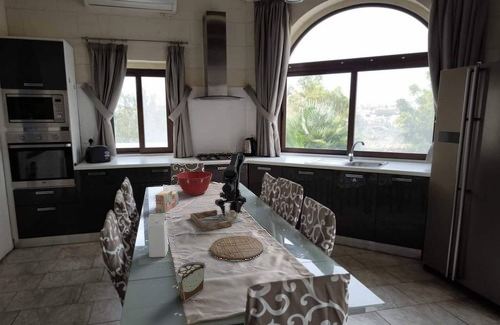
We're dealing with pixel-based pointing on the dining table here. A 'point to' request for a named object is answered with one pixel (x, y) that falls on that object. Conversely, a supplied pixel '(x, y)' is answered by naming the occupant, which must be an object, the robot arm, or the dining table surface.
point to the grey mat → (231, 219)
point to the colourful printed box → (166, 200)
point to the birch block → (231, 215)
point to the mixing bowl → (194, 181)
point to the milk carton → (157, 235)
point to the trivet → (237, 247)
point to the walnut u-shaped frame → (209, 226)
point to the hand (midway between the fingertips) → (231, 214)
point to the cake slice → (190, 279)
